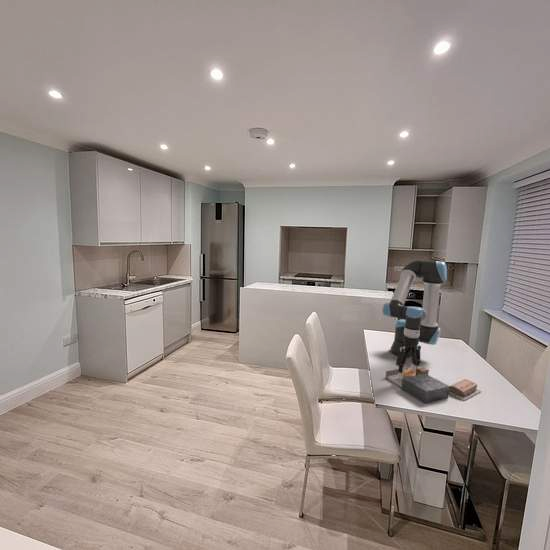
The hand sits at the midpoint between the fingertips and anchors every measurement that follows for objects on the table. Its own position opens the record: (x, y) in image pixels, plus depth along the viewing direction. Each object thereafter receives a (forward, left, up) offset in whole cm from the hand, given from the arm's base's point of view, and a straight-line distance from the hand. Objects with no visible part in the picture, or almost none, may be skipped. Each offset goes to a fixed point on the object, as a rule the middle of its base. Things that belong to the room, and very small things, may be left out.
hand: (406, 377), depth 159 cm
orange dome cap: (0, 0, +1) cm, 1 cm away
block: (-3, +14, -3) cm, 15 cm away
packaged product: (+17, +21, -4) cm, 27 cm away
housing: (+11, 0, -3) cm, 12 cm away
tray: (-1, 0, -3) cm, 3 cm away
